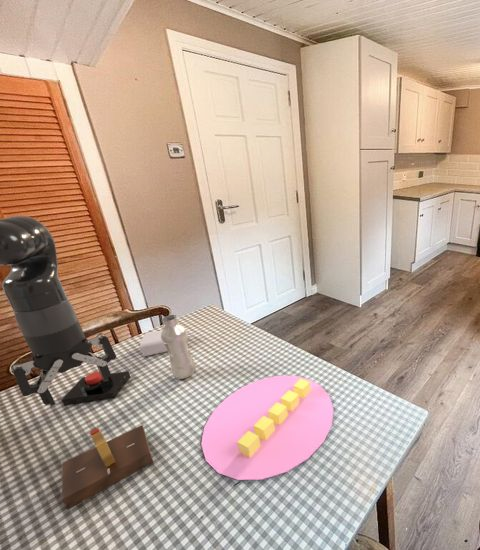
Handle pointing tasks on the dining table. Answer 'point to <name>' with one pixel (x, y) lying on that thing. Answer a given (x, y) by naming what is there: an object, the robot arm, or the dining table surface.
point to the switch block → (96, 389)
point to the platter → (267, 427)
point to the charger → (154, 343)
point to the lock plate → (95, 476)
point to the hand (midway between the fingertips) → (80, 390)
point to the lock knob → (102, 447)
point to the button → (93, 378)
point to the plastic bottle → (177, 347)
